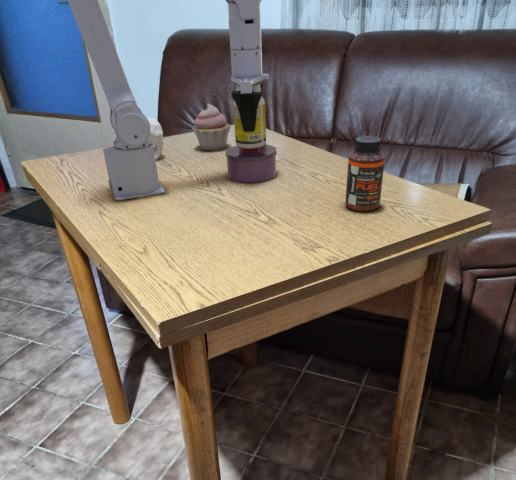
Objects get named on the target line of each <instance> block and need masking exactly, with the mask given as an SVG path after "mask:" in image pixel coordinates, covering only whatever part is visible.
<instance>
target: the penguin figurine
mask: <svg viewBox="0 0 516 480" xmlns="http://www.w3.org/2000/svg"><path fill="white" fill-rule="evenodd" d="M146 118H147V119H148V121H149V123H150V128H151V132H150V136H149V138H151V139H152V143H153V148H154V154H155V161H157V160H159V159H160V157H161V155H162V153H163V149H164V131H163V127H162V125H161V124H160V122H159V121H158V119H156V118H155V117H146Z"/></svg>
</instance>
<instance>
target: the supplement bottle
mask: <svg viewBox="0 0 516 480" xmlns="http://www.w3.org/2000/svg"><path fill="white" fill-rule="evenodd" d="M381 141H382V139H381V138H380V137H378V136H372V135H364V136H358V137H357V138H356V139H355V145H354V147H355V148H354V149H353V150H352V151H351V152H350V153H349V155H348V161H347V173H346V175H347V176H346V190H345V206H346V207H347V208H348V209H350V210H352V211H357V212H370V211H374V210H377V209H378V208H379V206H380V205H381V197H382V188H383V180H384V179H383V178H384V171H385V170H384V169H385V154H384V152H383V151H381V149H380V147H381Z"/></svg>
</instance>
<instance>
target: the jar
mask: <svg viewBox="0 0 516 480" xmlns="http://www.w3.org/2000/svg"><path fill="white" fill-rule="evenodd" d="M277 152H278V151H277V148H276V146H274V145H271V144H267V143H266V144H265V145H264V146H262V147H258V148H251V149H247V148H241V147H238V146H237V145H234V146H231V147H228V148H227V149H226V150H225V157H226V164H227V165H226V167H227V178H228V179H229V180H231V181H232V182H237V183H242V184H243V183H244V184H253V183H261V182H267V181H269V180H272V179H274V178H275V177H276V176H277Z"/></svg>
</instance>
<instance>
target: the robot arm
mask: <svg viewBox="0 0 516 480" xmlns="http://www.w3.org/2000/svg"><path fill="white" fill-rule="evenodd" d="M225 2H226V4H227V8H228V33H229V35H228V36H229V51H230V65H231V66H230V67H231V75H230V80H231V82H233V83H234V84H235V85H234V90H232V91H231V98H232V99H233V101H235V103H236V105H237V108H238V111H239V114H240V119H241V123H242V128H243V131H244V132H254V131H255V126H256V116H257V109H258V104H259V101H260V99H261V97H263V91H262V89H263V86H264V83H263V82H262V81H264V80H269V78H270V77H269V76H270V75H269V73H263V53H262V52H263V51H262V50H263V49H262V46H263V45H262V18H261V2H262V0H225ZM67 3H68V4H69V8H70V10H71V12H72V15H73V17H74V20H75V23H76V25H77V27H78V30H79V33H80V35H81V37H82V40H83V43H84V45H85V48H86V50H87V52H88V56H89V57H90V60H91V62H92V65H93V68H94V71H95V72H96V75H97V78H98V79H99V83H100V85H101V87H102V90H103V93H104V95H105V98H106V101H107V103H108V106H109V110H110V111H109V121H110V124H111V127H112V129H113V131H114V134H115V139H114V140H113V142H112V145H113V146H110V147H105V148H103V149H102V150H103V157H104V162H105V167H106V173H107V176H108V181H107V182H108V186H109V189H110V191H111V192H112V195H113V197H114V199H115V201H125V200H131V199H138V198H142V197H150V196H155V195H161V194H165V193H166V190H165V188H164V187H163V186H162V185H161V183H160V181H159V174H158V168H157V162H156V161H157V160H155V154H154V148H153V147H154V145H153V143H152V139H151V138H149V136H150V132H151V128H150V123H149V121H148V119H147V118H148V117H147V116H146V115H145V114H144V113H143V111H142V109H141V108H140V107H139V106H138V103H137V101H136V99H135V96H134V94H133V91H132V89H131V87H130V84H129V81H128V78H127V75H126V74H125V71H124V68H123V66H122V63H121V59H120V56H119V53H118V52H117V49H116V47H115V44H114V41H113V38H112V36H111V32H110V29H109V27H108V24H107V22H106V19H105V16H104V13H103V11H102V8H101V5H100V2H99V0H67ZM255 83H259V84H260V88H261V91H260V92H253V90H252V85H254V84H255ZM237 84H239V85H240V89H241V91H236V85H237Z"/></svg>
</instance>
